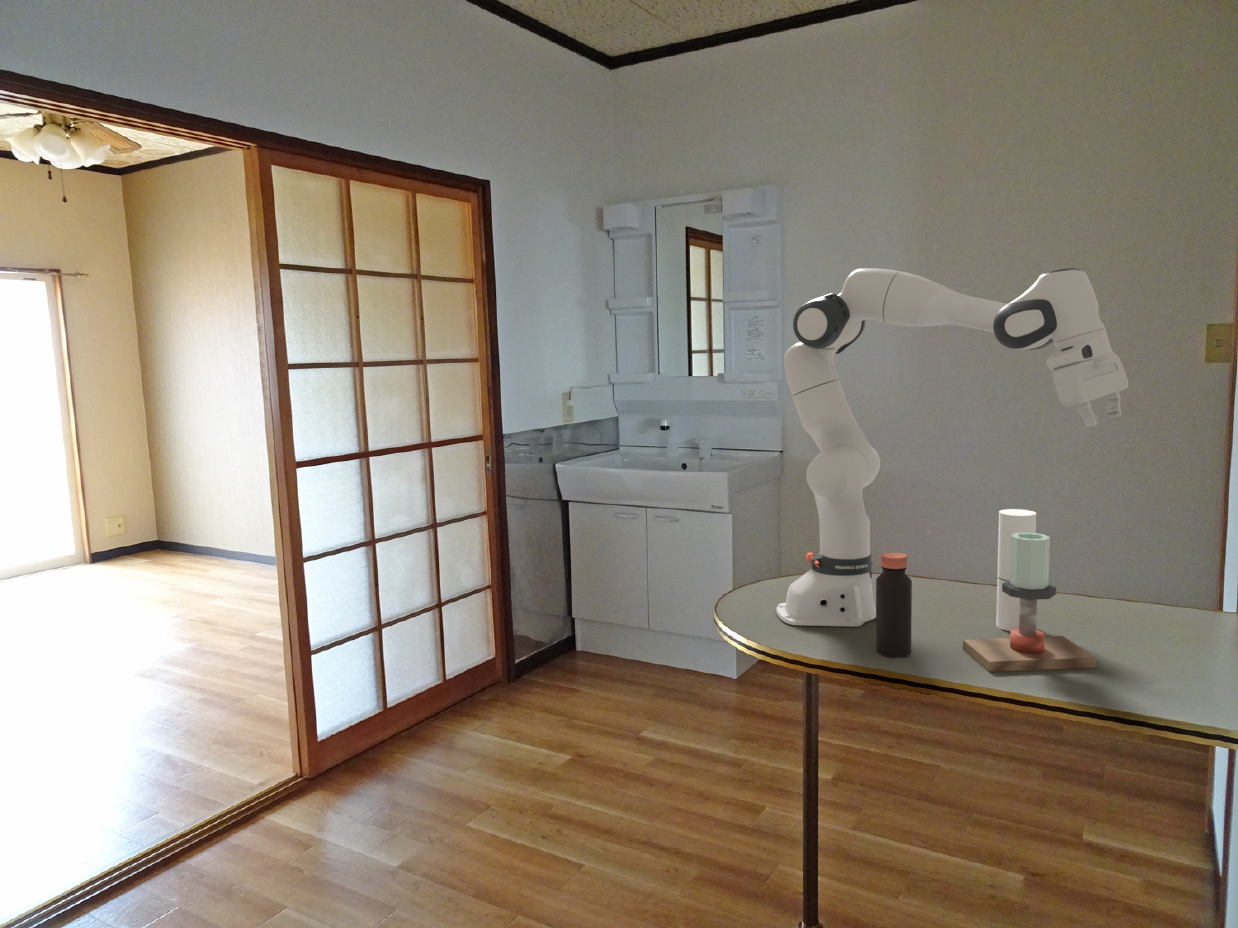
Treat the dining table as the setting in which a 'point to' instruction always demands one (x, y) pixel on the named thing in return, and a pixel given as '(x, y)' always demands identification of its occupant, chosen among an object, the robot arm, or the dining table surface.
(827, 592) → the robot arm
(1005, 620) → the cylindrical container
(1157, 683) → the dining table surface
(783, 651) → the dining table surface
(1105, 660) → the dining table surface
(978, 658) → the pipe stand
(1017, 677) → the dining table surface
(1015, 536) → the sleeve
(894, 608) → the bottle
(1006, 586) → the o ring
